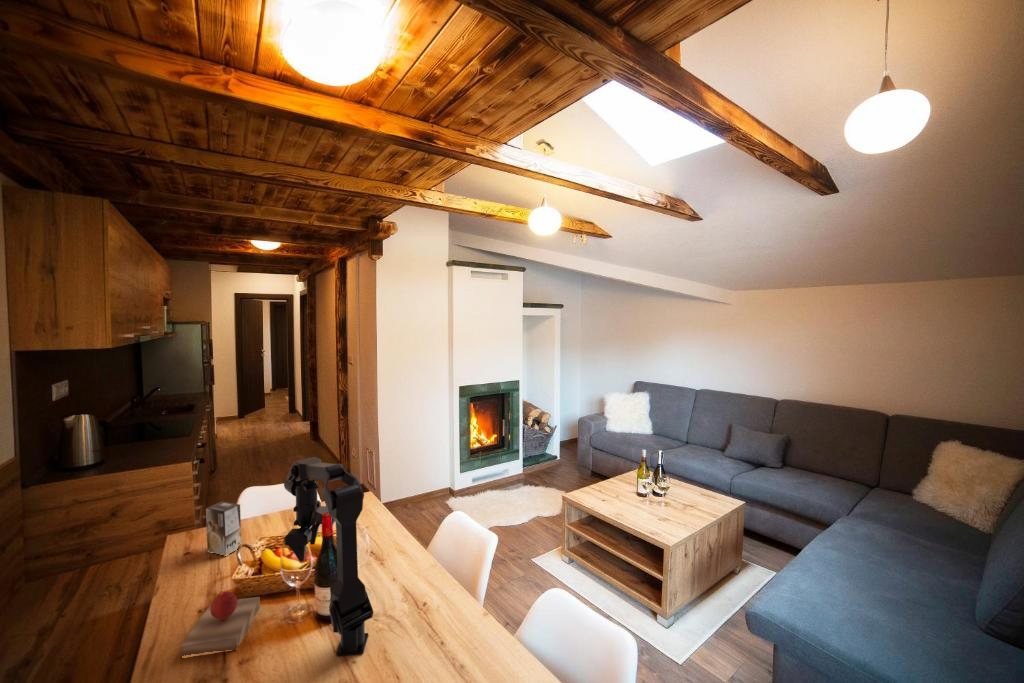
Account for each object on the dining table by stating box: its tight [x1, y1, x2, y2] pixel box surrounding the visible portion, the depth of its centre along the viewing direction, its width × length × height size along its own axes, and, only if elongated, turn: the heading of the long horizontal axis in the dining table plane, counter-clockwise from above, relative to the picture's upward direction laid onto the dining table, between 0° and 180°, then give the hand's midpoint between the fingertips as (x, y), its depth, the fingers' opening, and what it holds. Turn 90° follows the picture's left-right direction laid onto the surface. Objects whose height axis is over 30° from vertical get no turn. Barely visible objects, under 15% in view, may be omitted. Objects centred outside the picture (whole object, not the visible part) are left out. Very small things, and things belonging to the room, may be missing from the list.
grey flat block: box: [180, 596, 261, 657], centre depth 111 cm, size 16×12×4 cm
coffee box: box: [205, 500, 242, 555], centre depth 150 cm, size 9×6×16 cm
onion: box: [210, 589, 238, 620], centre depth 111 cm, size 6×6×8 cm
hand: (307, 552), depth 125 cm, fingers open, 9 cm apart
